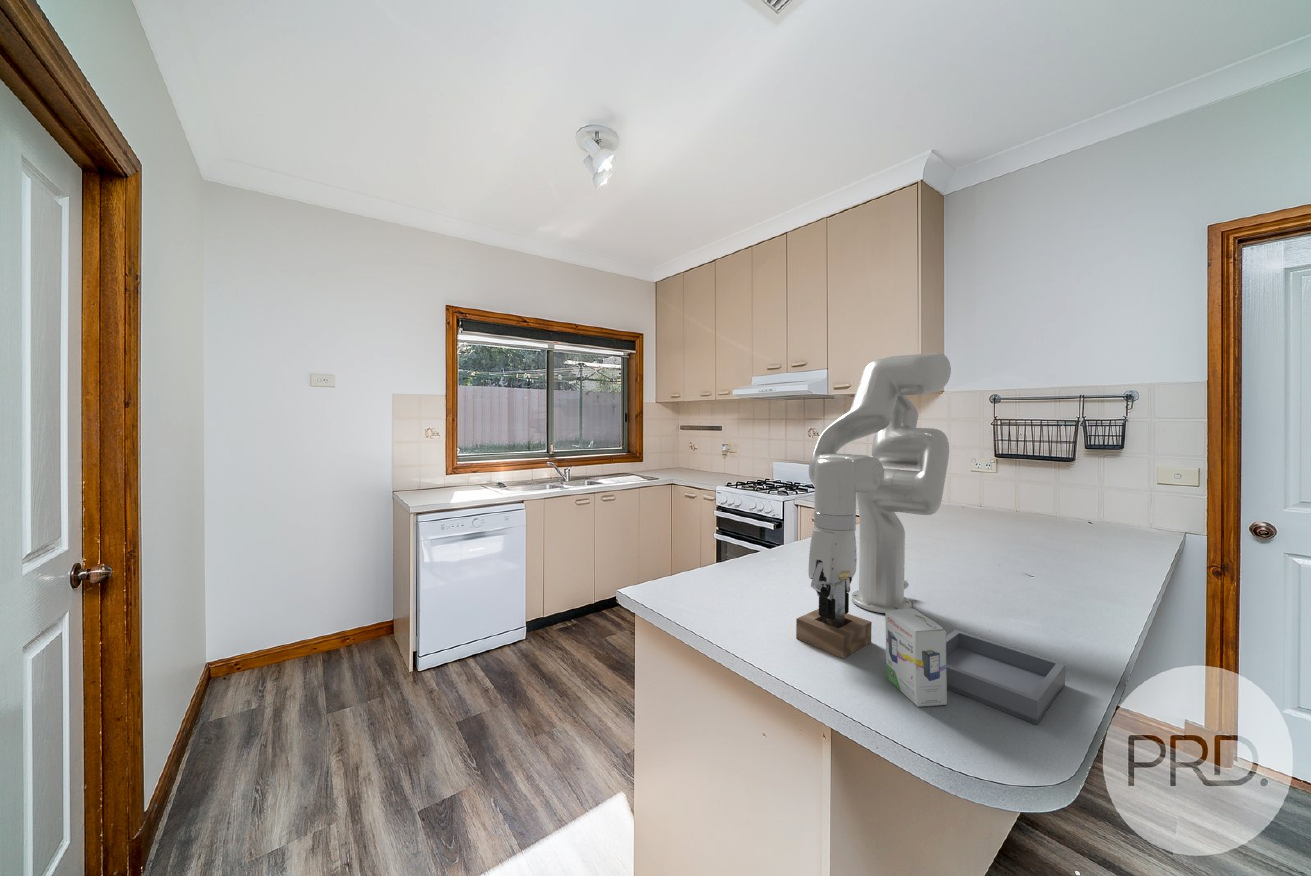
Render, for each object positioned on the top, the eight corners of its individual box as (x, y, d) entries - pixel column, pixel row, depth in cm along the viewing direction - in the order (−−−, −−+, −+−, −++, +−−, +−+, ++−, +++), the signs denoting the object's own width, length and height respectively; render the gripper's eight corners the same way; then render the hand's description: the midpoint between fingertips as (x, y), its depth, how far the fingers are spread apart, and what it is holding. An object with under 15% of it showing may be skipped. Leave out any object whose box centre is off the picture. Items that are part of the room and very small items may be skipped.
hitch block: (824, 624, 99) (824, 605, 99) (871, 642, 92) (871, 621, 91) (796, 638, 93) (796, 618, 93) (843, 658, 85) (843, 636, 85)
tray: (954, 647, 89) (955, 629, 89) (1064, 685, 77) (1065, 664, 77) (917, 676, 79) (917, 656, 79) (1036, 725, 67) (1037, 701, 67)
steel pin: (828, 631, 96) (829, 563, 96) (854, 641, 92) (855, 570, 91) (812, 639, 93) (813, 568, 92) (838, 650, 89) (839, 576, 88)
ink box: (948, 706, 71) (949, 629, 71) (915, 708, 71) (916, 630, 70) (912, 675, 80) (913, 606, 79) (883, 677, 79) (884, 607, 79)
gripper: (840, 512, 100) (839, 598, 100) (792, 524, 89) (791, 619, 90) (875, 518, 94) (873, 609, 94) (828, 531, 83) (827, 633, 84)
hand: (833, 613), depth 92 cm, fingers closed on steel pin, 4 cm apart
